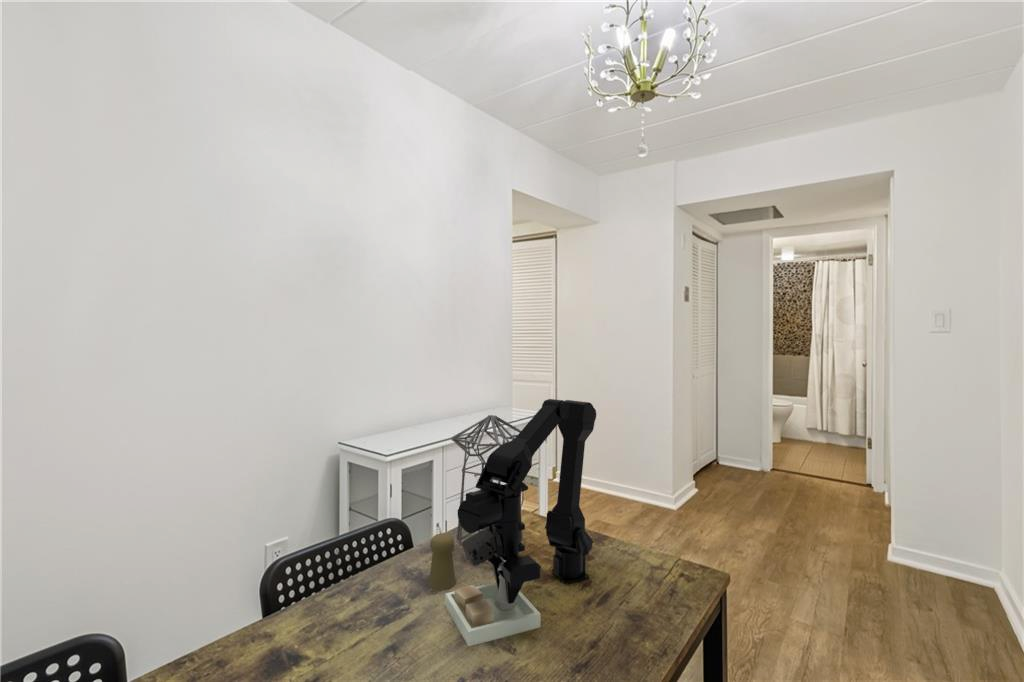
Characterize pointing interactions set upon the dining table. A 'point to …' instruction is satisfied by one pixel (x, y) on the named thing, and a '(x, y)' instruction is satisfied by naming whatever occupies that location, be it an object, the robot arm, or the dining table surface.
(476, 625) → the beech block
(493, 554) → the robot arm
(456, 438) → the geometric lantern
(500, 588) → the rook chess piece
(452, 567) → the cork
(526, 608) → the tray
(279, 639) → the dining table surface
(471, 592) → the beech block
